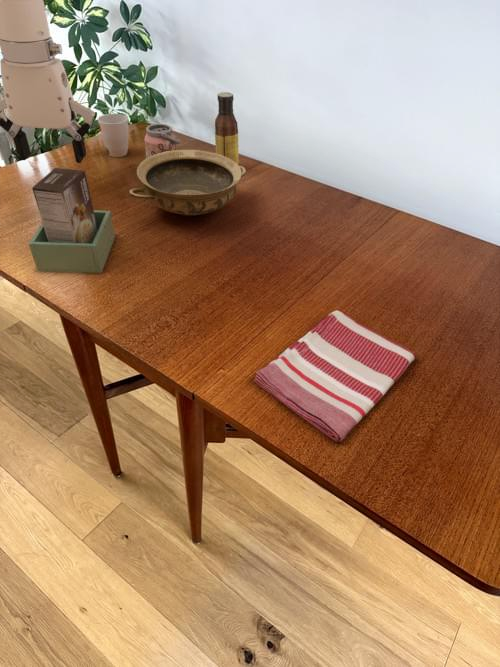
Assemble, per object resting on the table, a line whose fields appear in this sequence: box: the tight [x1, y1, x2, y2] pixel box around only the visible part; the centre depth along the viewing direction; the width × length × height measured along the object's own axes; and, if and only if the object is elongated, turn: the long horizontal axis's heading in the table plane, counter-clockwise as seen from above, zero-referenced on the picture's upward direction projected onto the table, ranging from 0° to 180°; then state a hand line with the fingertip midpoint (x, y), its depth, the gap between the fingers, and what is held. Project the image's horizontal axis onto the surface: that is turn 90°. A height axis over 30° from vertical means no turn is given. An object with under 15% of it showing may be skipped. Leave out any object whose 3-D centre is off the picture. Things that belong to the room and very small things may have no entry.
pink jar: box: [143, 123, 181, 159], centre depth 124 cm, size 9×8×12 cm
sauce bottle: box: [214, 91, 240, 165], centre depth 124 cm, size 6×6×20 cm
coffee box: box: [31, 167, 98, 244], centre depth 92 cm, size 9×6×16 cm
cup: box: [97, 113, 130, 158], centre depth 132 cm, size 8×8×10 cm
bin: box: [28, 209, 116, 274], centre depth 95 cm, size 13×14×7 cm
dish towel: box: [253, 309, 417, 443], centre depth 75 cm, size 17×23×3 cm
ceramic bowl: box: [128, 149, 247, 217], centre depth 110 cm, size 30×24×10 cm
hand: (53, 158), depth 84 cm, fingers open, 9 cm apart
